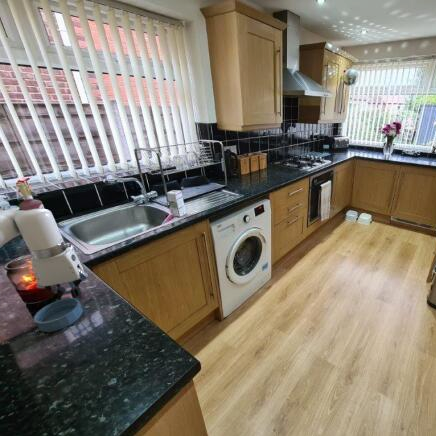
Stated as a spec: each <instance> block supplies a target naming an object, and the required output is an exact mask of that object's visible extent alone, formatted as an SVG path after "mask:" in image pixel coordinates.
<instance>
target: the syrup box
mask: <svg viewBox="0 0 436 436" xmlns="http://www.w3.org/2000/svg"><path fill="white" fill-rule="evenodd" d="M166 195H167V200H168V204H169V208H170V213H171V216H172V217H179V218H180V217H182V216H184V215H185V214H186V208H185V202H184V197H183V193H182V190H177V189H176V190H175V189H173V190H170V191H168V192H166ZM183 213H184V214H183Z"/></svg>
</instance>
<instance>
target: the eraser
mask: <svg viewBox="0 0 436 436" xmlns="http://www.w3.org/2000/svg"><path fill="white" fill-rule="evenodd" d="M65 290H66V291H65V292H64V293H63V295H62V297H61V300H62V299H66V298H73V296H72V294H71V291H70V290H71V287H67V288H65Z"/></svg>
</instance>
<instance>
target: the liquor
mask: <svg viewBox="0 0 436 436" xmlns="http://www.w3.org/2000/svg"><path fill="white" fill-rule="evenodd" d="M16 186H17V188H18V189H19V191H20V192H21V195H22V198H23V201H22V202H20V204H19V205H18V207H19V208H20V211H28V210H32V209H45V207H44V204H43V201H41V200H39V199H34V198H33V196H32V194H31V192H30V190H29V188H28V185H27V182H20V183H16Z"/></svg>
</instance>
